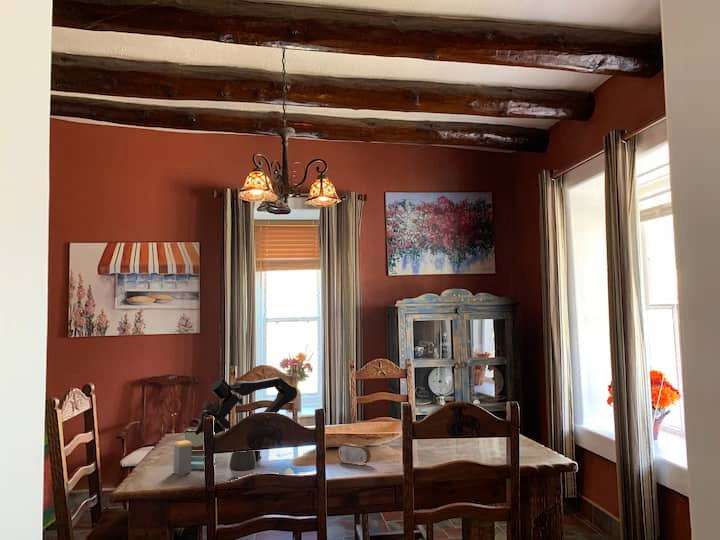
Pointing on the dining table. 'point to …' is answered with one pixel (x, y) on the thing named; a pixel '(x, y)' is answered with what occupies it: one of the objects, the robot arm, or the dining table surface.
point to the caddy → (182, 457)
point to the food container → (194, 438)
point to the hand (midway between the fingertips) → (200, 436)
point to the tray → (197, 462)
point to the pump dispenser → (242, 463)
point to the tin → (353, 453)
